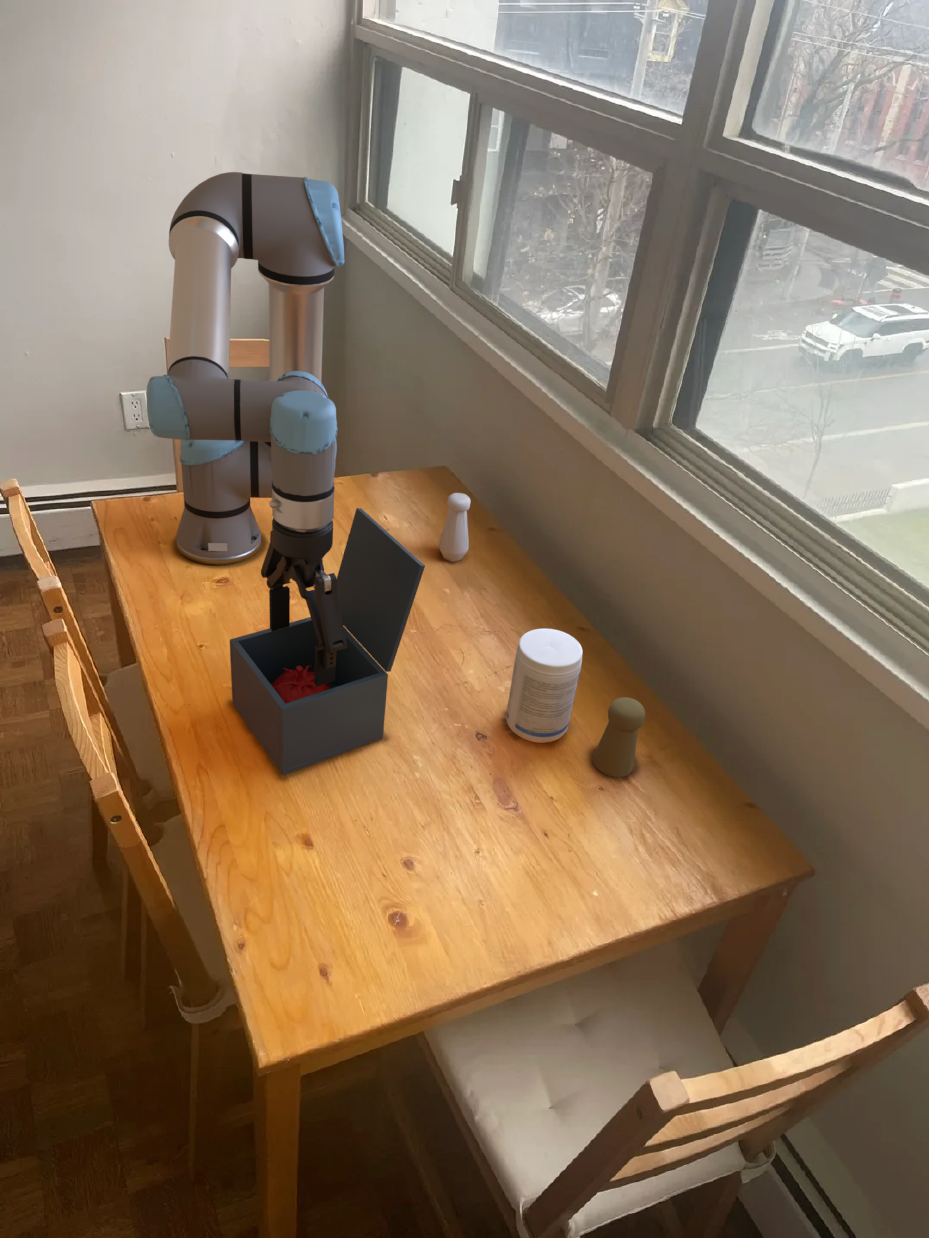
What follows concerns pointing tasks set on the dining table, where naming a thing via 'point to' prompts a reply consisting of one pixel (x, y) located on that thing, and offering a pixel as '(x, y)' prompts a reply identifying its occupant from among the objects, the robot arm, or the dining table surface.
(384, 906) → the dining table surface
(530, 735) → the supplement tub
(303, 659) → the box
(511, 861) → the dining table surface
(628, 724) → the olive brown pawn
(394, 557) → the lid
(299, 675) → the red tomato
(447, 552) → the salt shaker
